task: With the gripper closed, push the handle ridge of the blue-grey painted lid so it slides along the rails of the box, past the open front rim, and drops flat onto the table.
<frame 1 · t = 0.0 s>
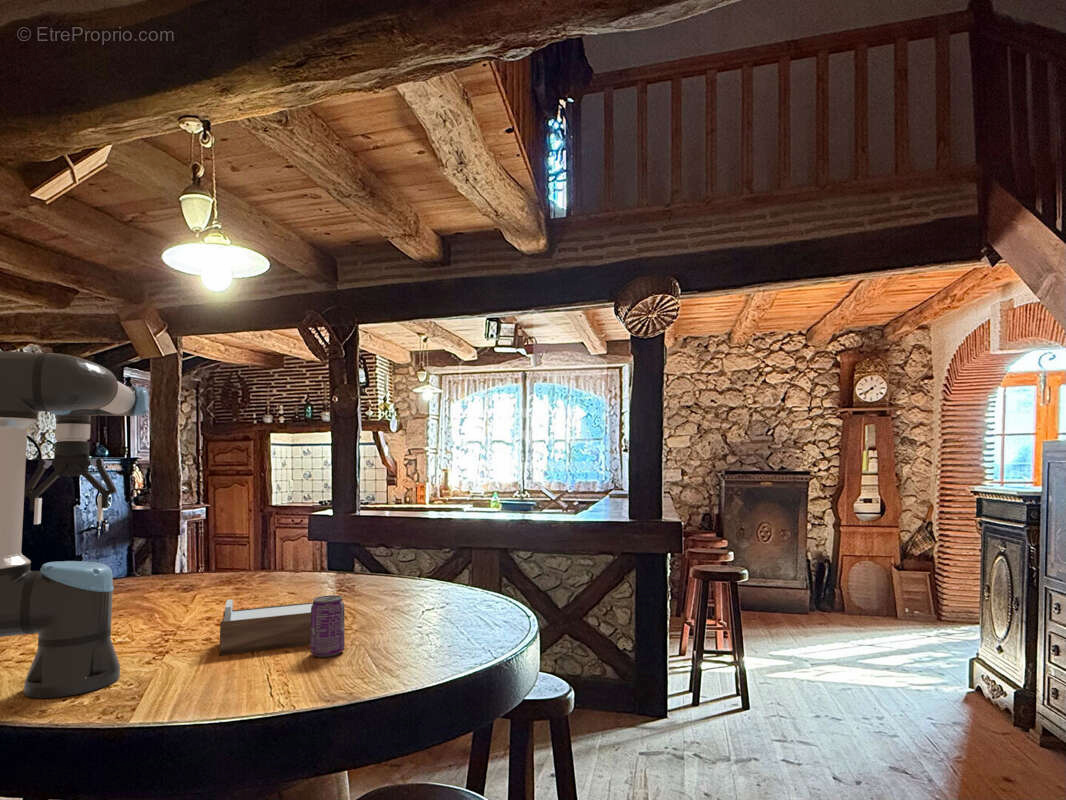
hand: (69, 522, 168), 28 cm above the table, fingers open, 13 cm apart
box: (273, 642, 153), on the table
lid: (273, 616, 153), point 6 cm above the table, touching box
beverage can: (327, 654, 142), on the table
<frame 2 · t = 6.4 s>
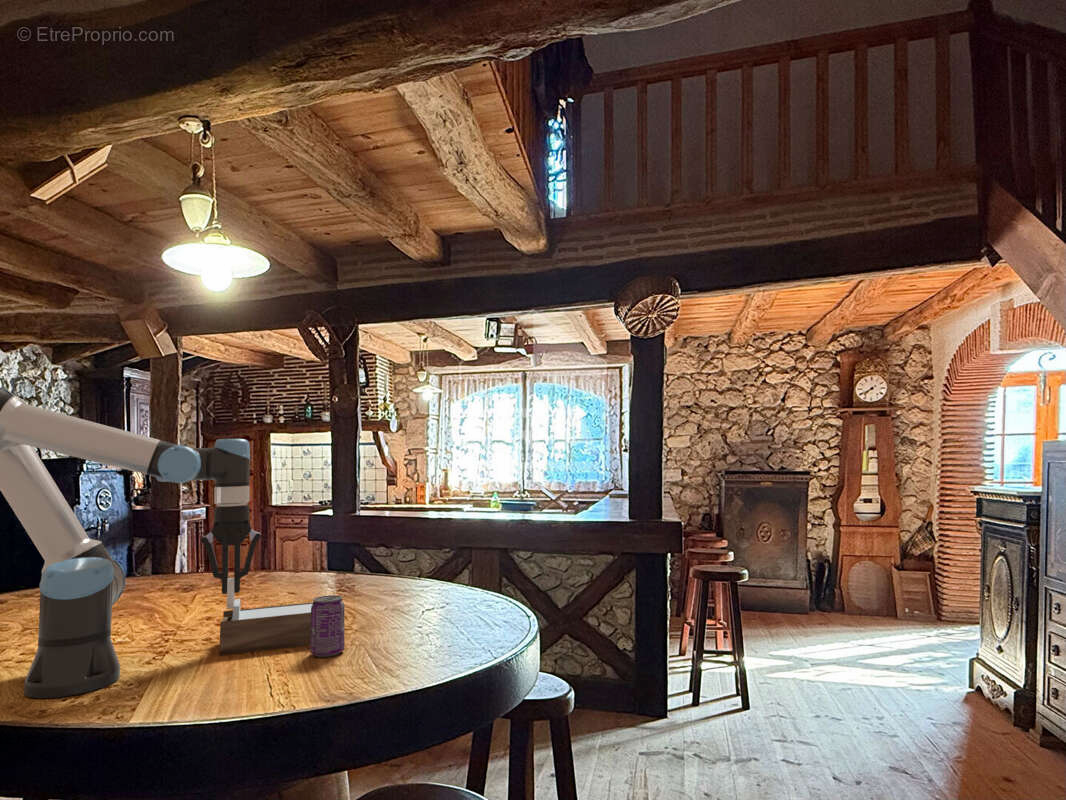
hand: (230, 607, 150), 9 cm above the table, fingers closed
lid: (281, 615, 154), point 6 cm above the table, touching box, gripper
everything else where it was.
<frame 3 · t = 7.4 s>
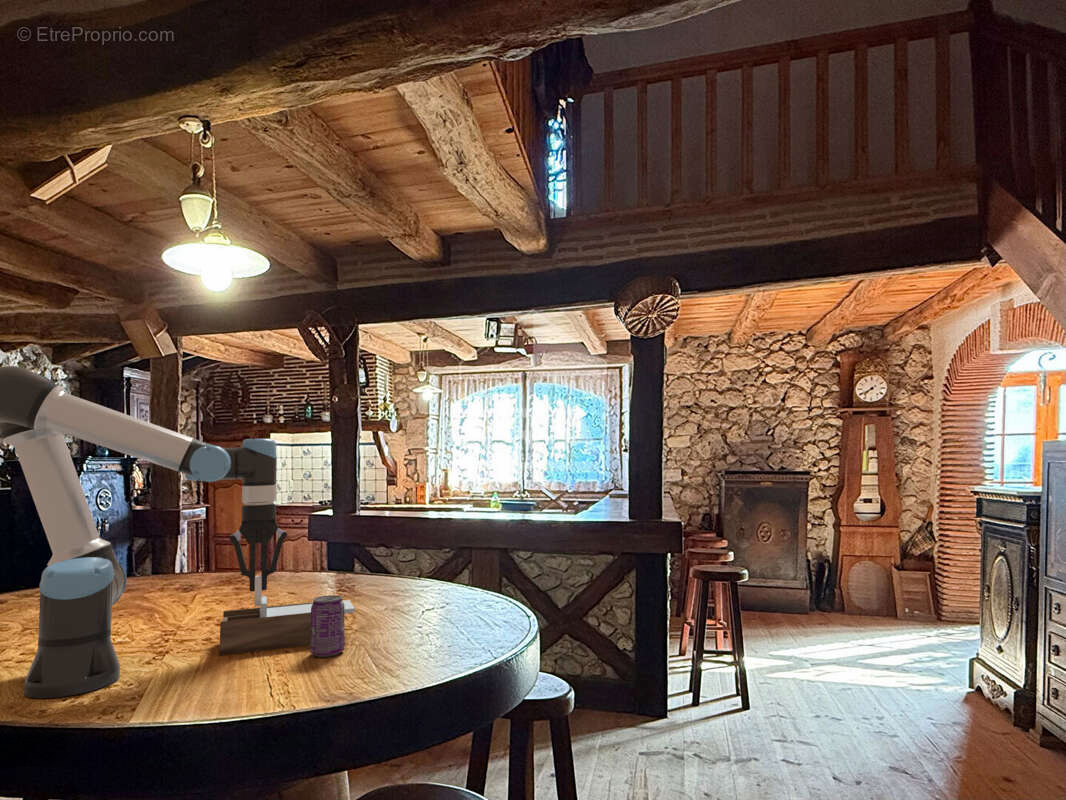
hand: (258, 604, 152), 9 cm above the table, fingers closed
lid: (307, 612, 156), point 6 cm above the table, touching gripper
everything else where it was.
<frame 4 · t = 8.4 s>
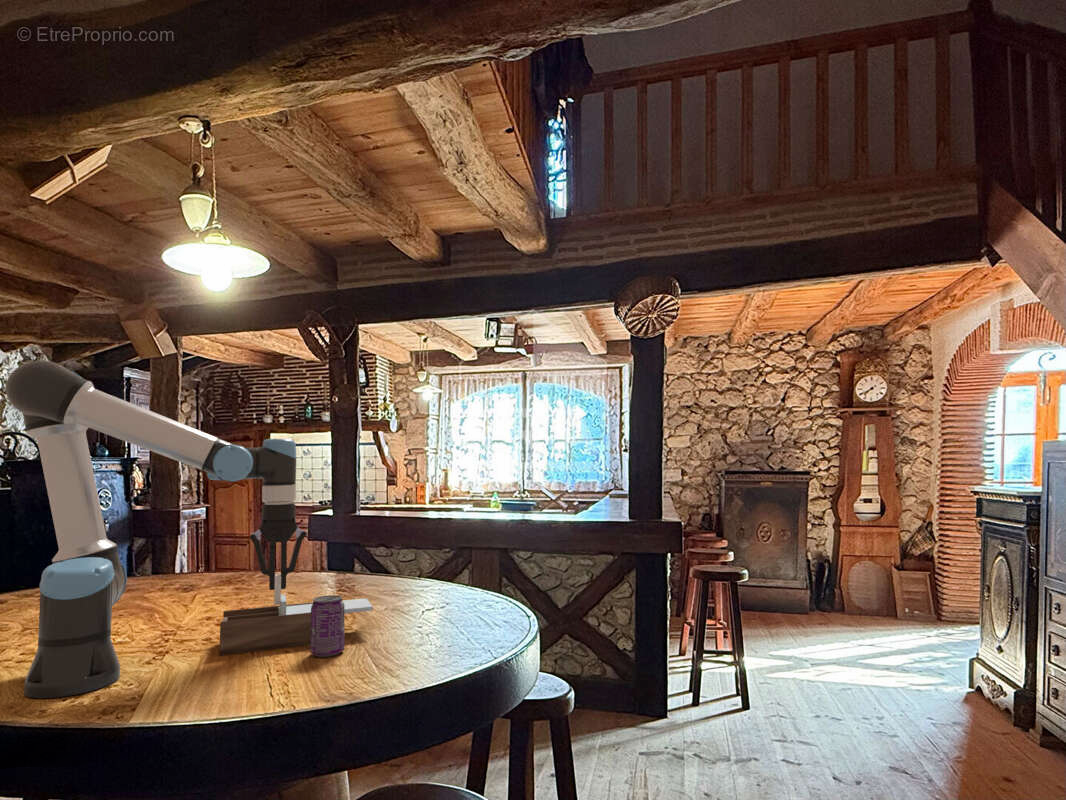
hand: (277, 603, 154), 9 cm above the table, fingers closed
lid: (325, 611, 158), point 6 cm above the table, touching box, gripper
everything else where it was.
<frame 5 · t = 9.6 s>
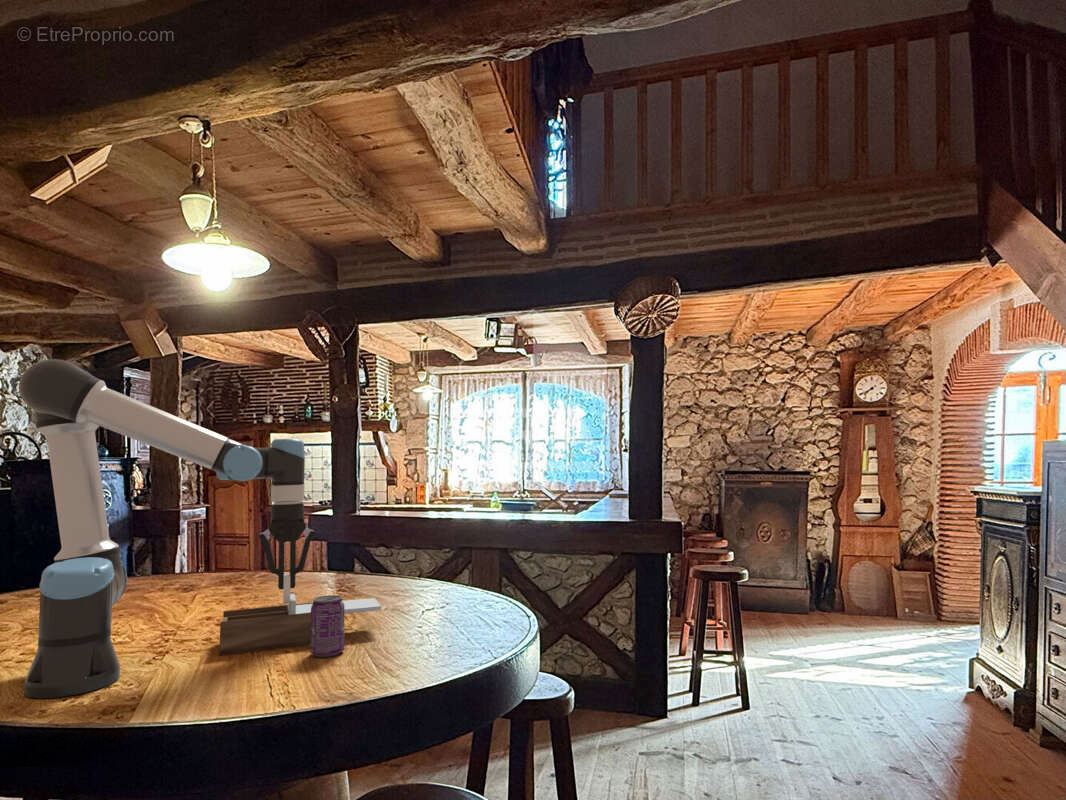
hand: (286, 602, 155), 9 cm above the table, fingers closed
lid: (334, 610, 158), point 6 cm above the table, touching box, gripper
everything else where it was.
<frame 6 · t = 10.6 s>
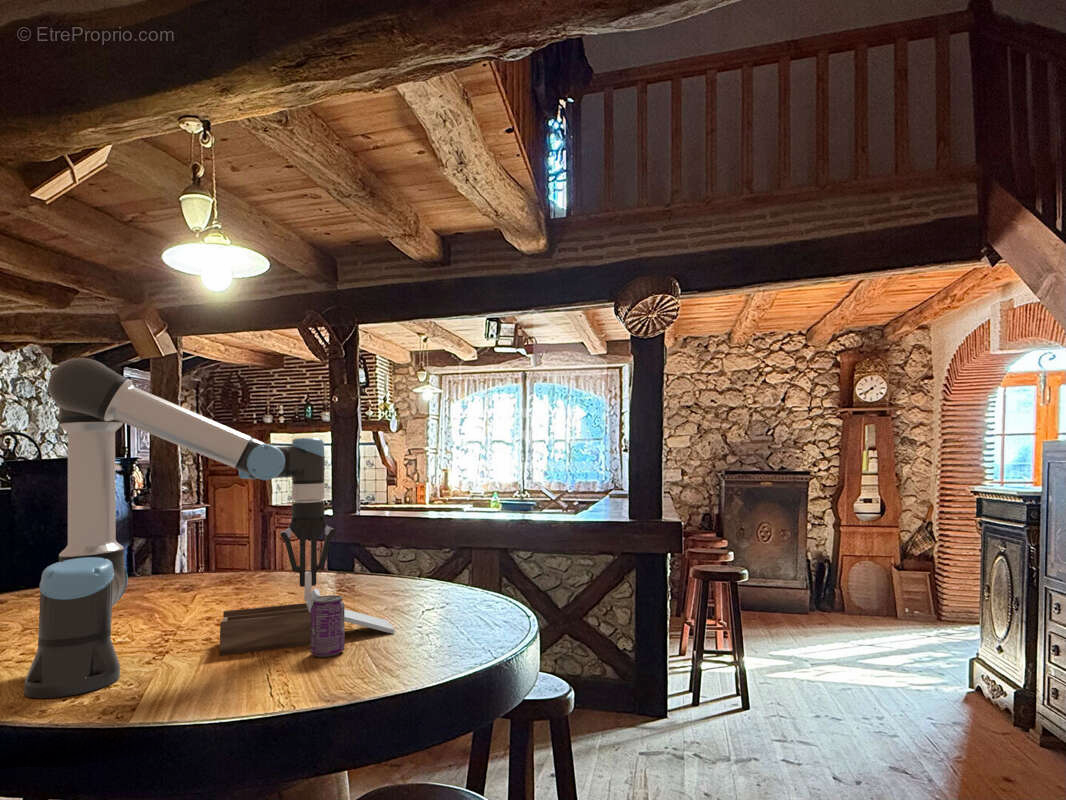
hand: (307, 599, 156), 9 cm above the table, fingers closed
lid: (349, 618, 159), point 4 cm above the table, tilted 20°, touching box
everything else where it was.
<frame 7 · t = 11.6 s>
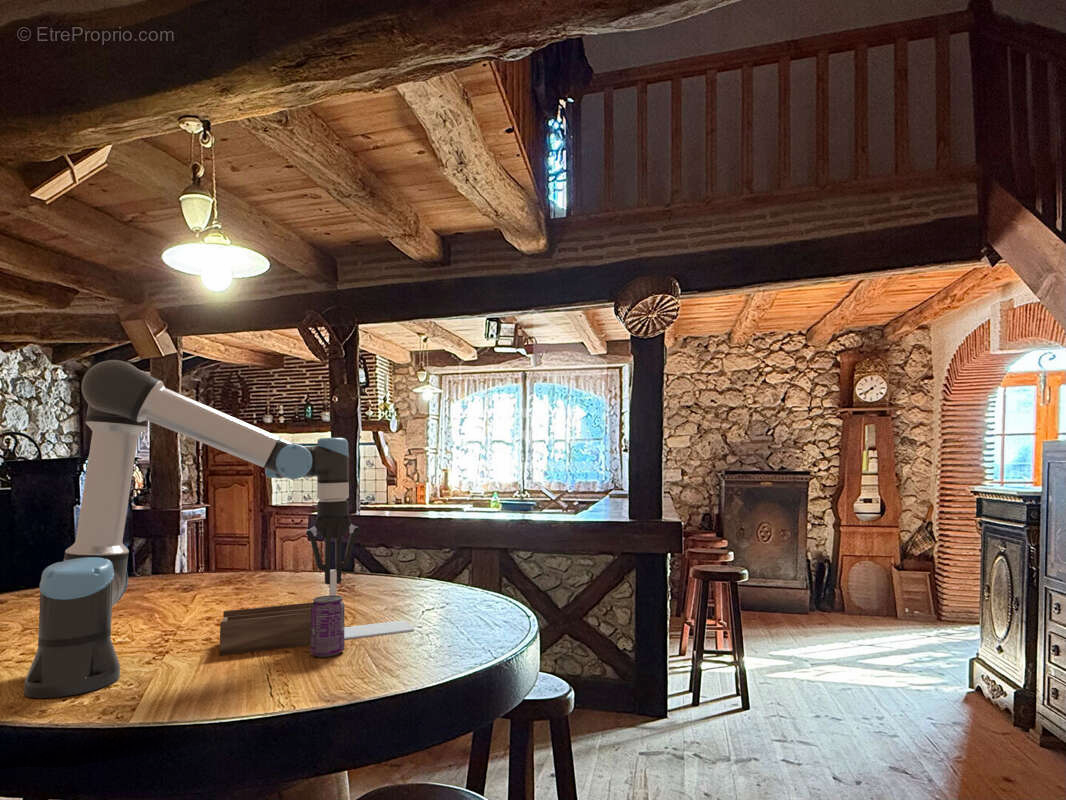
hand: (332, 597, 159), 9 cm above the table, fingers closed
lid: (367, 633, 161), on the table
everything else where it was.
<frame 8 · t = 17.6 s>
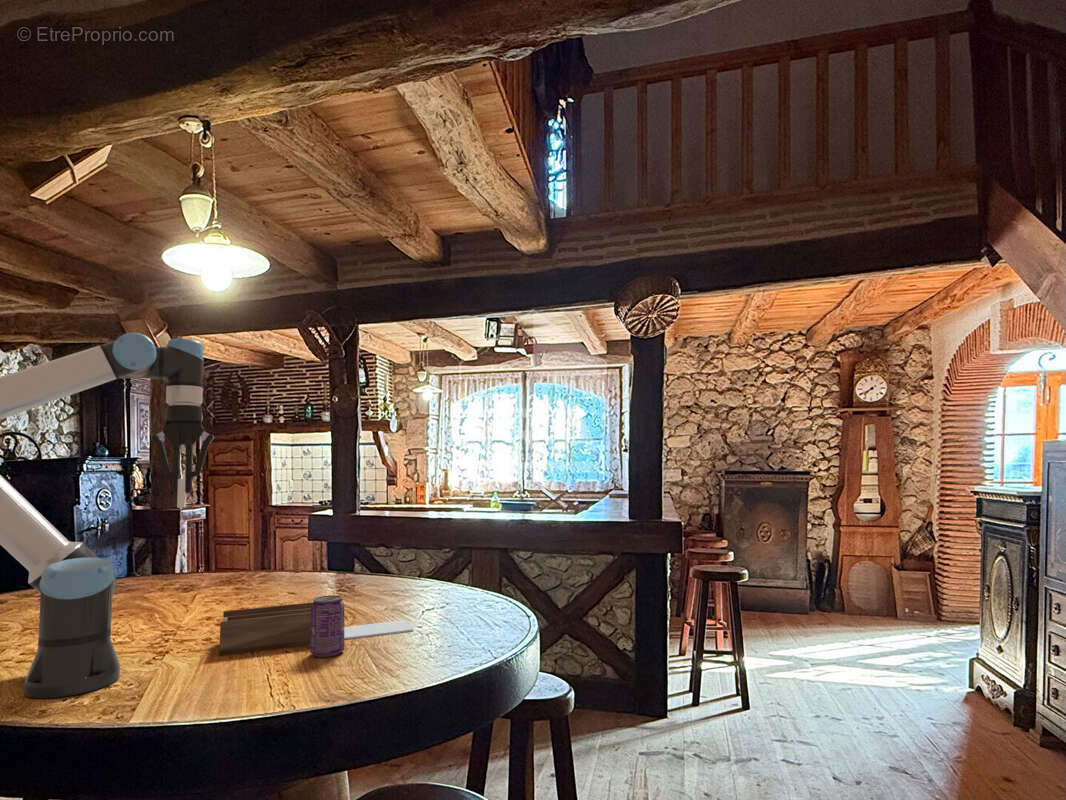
hand: (181, 507, 149), 32 cm above the table, fingers closed
nothing on the table moved.
at the end: lid inside the target area on the table beside the box (5.4 cm from its centre), on the table; lid tilted 0° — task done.
